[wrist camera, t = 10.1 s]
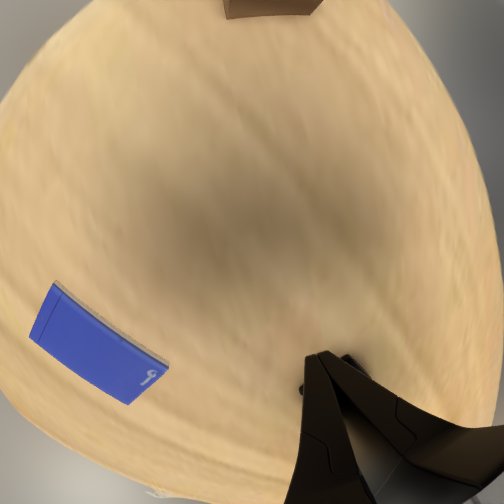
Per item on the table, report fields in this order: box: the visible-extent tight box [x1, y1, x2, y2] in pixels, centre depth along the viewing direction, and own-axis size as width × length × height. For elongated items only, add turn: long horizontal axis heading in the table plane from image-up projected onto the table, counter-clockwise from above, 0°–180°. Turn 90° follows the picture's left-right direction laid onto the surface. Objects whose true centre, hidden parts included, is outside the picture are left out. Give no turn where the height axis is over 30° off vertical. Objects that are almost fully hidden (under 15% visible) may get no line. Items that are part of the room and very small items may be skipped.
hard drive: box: [29, 280, 170, 405], centre depth 22 cm, size 2×8×12 cm
